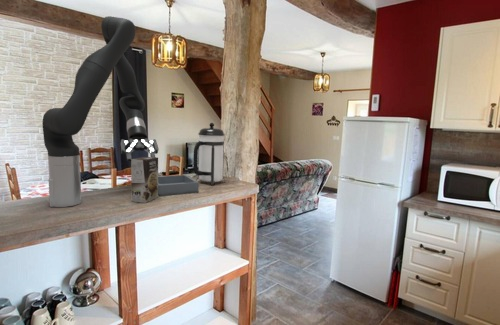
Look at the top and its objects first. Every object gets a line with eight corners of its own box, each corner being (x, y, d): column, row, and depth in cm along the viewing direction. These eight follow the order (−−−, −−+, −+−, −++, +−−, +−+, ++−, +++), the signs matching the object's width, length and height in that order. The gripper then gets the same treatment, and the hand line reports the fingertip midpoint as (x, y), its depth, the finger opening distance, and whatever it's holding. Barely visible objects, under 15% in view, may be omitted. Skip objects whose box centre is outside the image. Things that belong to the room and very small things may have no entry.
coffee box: (146, 203, 107) (146, 159, 105) (130, 201, 109) (130, 158, 106) (159, 197, 116) (158, 157, 114) (144, 195, 117) (144, 156, 115)
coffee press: (193, 179, 152) (194, 121, 148) (223, 179, 155) (225, 123, 151) (193, 187, 136) (193, 122, 131) (227, 187, 139) (229, 123, 134)
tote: (159, 196, 118) (158, 185, 117) (149, 186, 134) (149, 176, 133) (198, 192, 126) (198, 182, 125) (185, 183, 142) (185, 174, 141)
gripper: (119, 124, 118) (123, 155, 110) (155, 125, 125) (161, 154, 117) (118, 136, 123) (121, 167, 115) (152, 136, 131) (158, 165, 122)
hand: (142, 160), depth 116 cm, fingers open, 8 cm apart
